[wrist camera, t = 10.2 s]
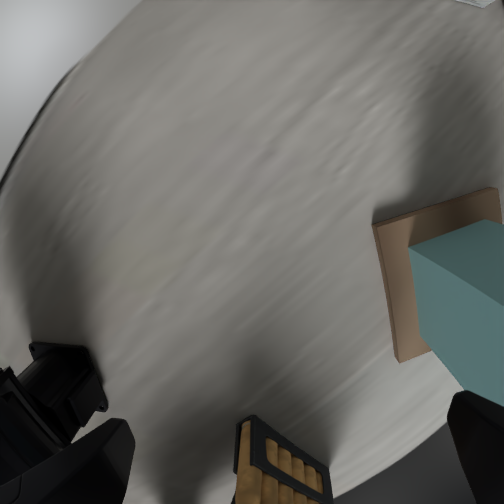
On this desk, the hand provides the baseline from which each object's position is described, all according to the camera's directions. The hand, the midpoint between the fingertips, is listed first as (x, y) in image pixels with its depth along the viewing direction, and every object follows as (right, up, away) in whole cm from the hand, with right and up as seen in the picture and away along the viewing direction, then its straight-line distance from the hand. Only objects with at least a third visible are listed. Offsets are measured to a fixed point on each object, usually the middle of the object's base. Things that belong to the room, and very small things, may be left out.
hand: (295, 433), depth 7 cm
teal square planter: (+13, +3, +11) cm, 17 cm away
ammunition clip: (+2, -12, +17) cm, 21 cm away
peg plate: (+13, +3, +12) cm, 18 cm away
